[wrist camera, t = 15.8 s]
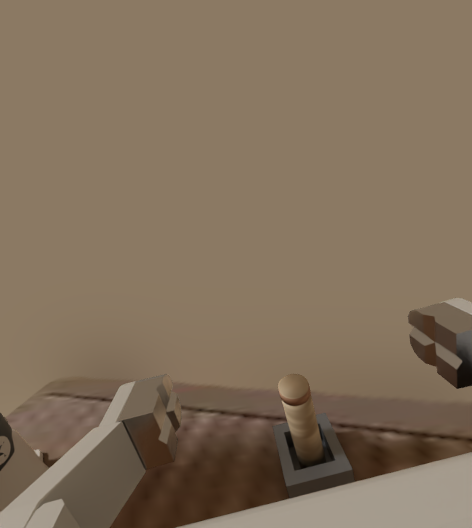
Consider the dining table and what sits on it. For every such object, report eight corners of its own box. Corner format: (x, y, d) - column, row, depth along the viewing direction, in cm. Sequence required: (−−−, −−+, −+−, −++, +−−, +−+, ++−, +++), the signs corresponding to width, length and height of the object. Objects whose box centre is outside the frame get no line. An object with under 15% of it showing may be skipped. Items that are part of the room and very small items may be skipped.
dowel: (303, 480, 32) (281, 400, 29) (295, 451, 36) (274, 378, 32) (331, 472, 32) (313, 392, 29) (320, 445, 36) (302, 370, 32)
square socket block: (292, 509, 31) (286, 486, 30) (277, 446, 38) (272, 426, 37) (356, 493, 31) (352, 469, 30) (329, 433, 38) (325, 412, 37)
